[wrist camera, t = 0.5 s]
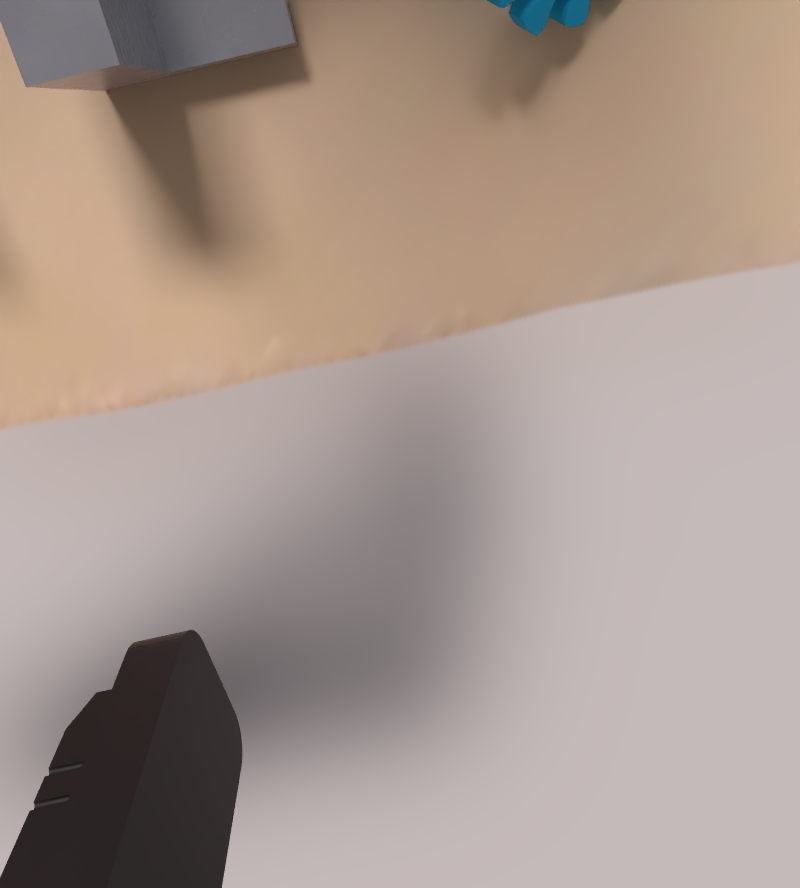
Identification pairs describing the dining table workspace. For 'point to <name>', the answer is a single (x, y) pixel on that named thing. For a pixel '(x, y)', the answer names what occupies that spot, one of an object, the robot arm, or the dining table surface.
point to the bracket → (136, 38)
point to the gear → (545, 12)
